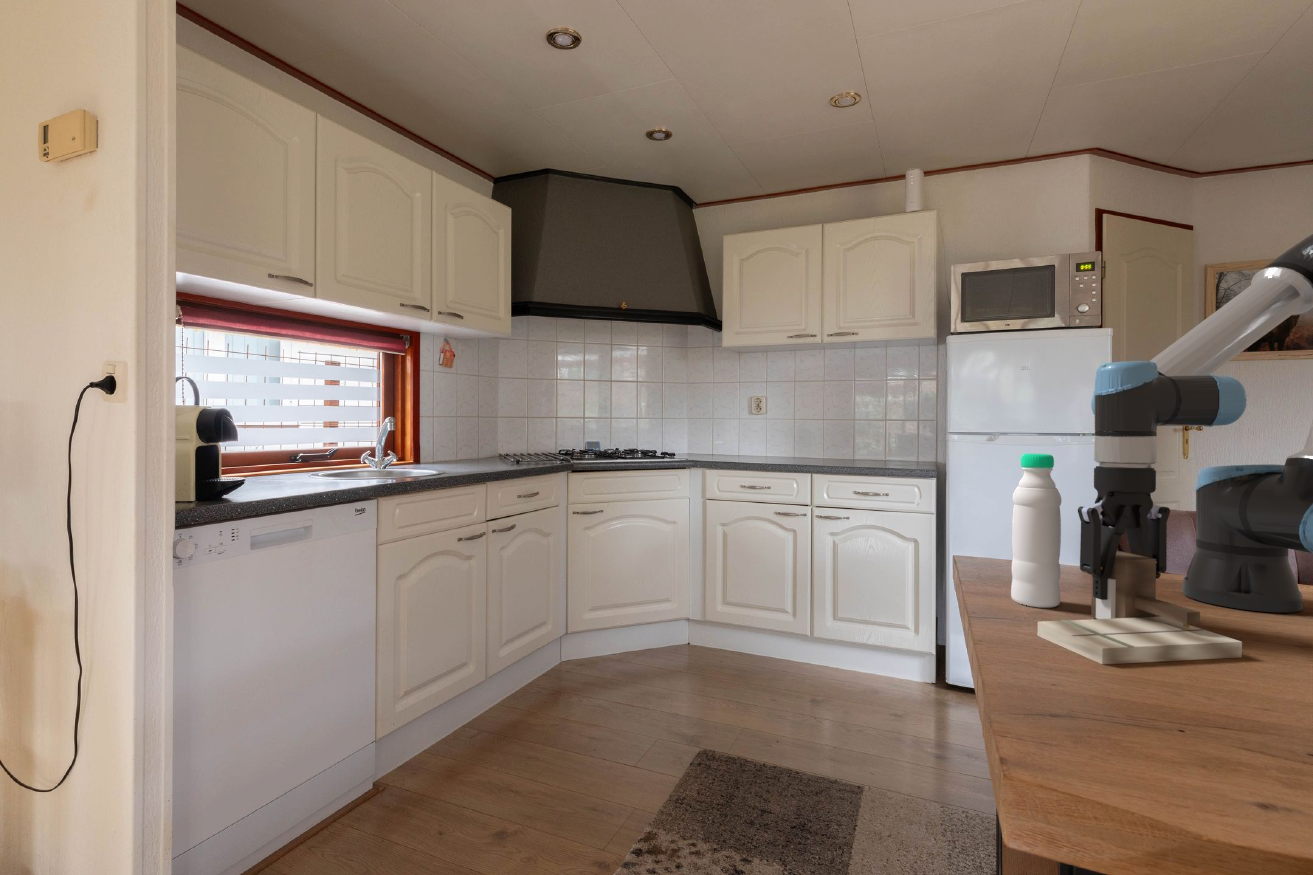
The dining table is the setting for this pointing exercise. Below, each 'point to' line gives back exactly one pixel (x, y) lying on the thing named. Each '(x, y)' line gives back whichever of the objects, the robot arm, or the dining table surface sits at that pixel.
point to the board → (1138, 640)
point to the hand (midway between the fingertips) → (1122, 619)
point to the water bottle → (1036, 535)
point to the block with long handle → (1142, 592)
